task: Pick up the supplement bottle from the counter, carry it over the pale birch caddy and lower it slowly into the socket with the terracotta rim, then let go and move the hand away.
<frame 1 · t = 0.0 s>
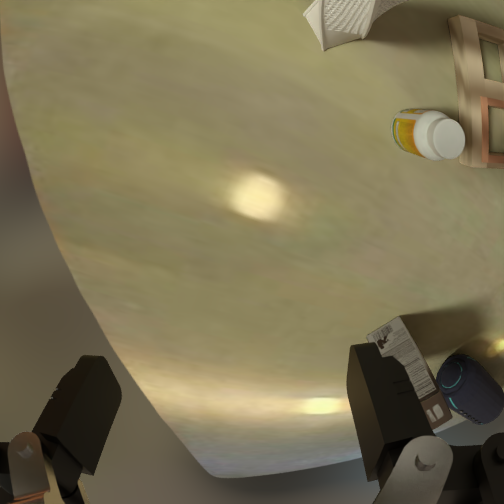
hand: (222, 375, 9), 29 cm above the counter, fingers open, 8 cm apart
skyscraper: (335, 25, 28), on the counter
portable speaker: (463, 376, 51), on the counter
supplement bottle: (408, 130, 33), on the counter
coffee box: (391, 341, 46), on the counter
cup caddy: (488, 94, 29), on the counter
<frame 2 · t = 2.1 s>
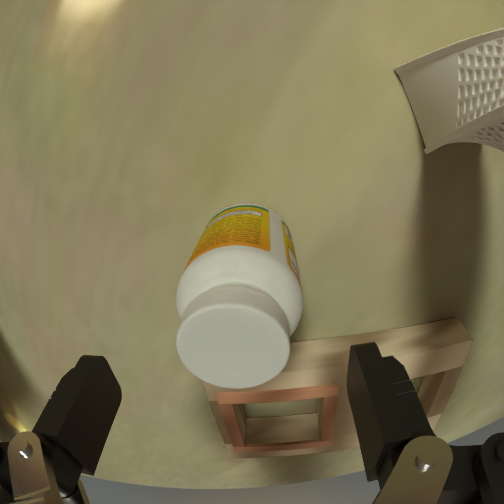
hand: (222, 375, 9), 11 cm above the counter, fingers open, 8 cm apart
skyscraper: (443, 104, 15), on the counter
supplement bottle: (246, 242, 19), on the counter
cup caddy: (337, 388, 24), on the counter
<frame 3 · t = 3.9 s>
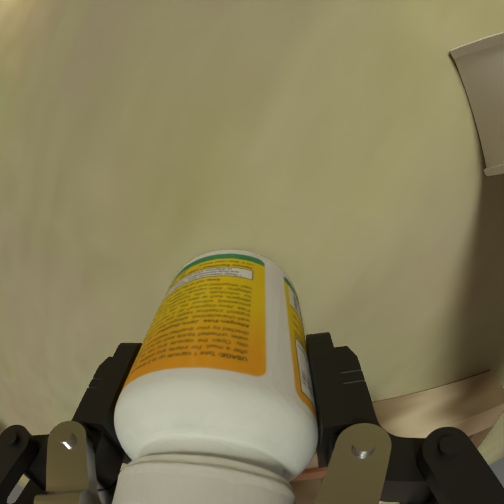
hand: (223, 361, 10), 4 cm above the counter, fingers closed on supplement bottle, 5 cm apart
supplement bottle: (232, 300, 13), on the counter, touching gripper
cup caddy: (346, 452, 18), on the counter
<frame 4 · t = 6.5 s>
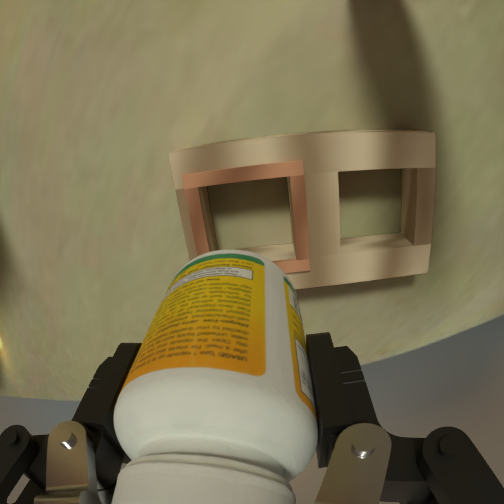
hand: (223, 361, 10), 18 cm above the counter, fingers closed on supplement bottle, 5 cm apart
supplement bottle: (232, 300, 13), point 14 cm above the counter, touching gripper
cup caddy: (310, 205, 26), on the counter
when the fingers open (5 cm above the counter, at t = 9.3 s): supplement bottle drops 1 cm, resting in cup caddy.
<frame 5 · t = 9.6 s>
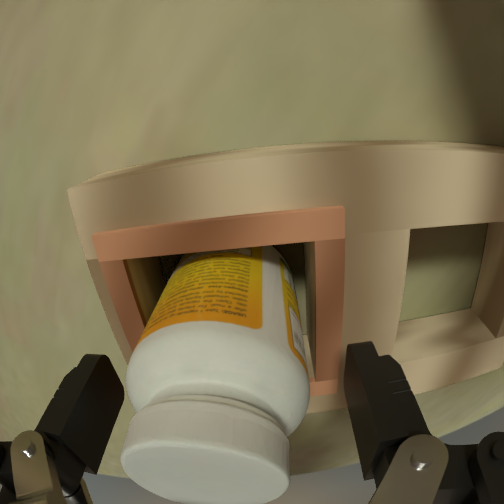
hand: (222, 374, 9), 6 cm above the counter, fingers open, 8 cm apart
supplement bottle: (233, 281, 15), resting in cup caddy
cup caddy: (342, 275, 14), on the counter
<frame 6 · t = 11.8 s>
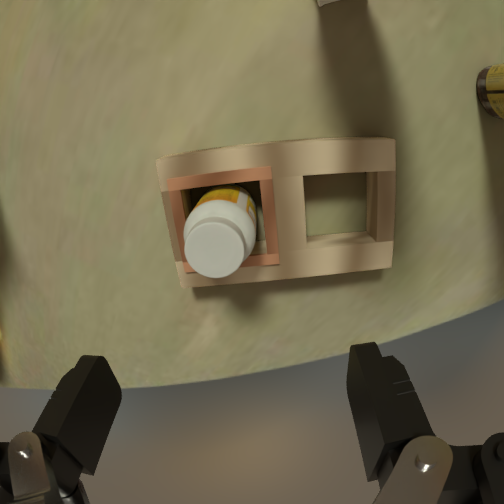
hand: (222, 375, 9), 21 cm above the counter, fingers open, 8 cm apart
supplement bottle: (227, 209, 30), resting in cup caddy
sauce bottle: (492, 90, 23), on the counter
cup caddy: (281, 205, 29), on the counter
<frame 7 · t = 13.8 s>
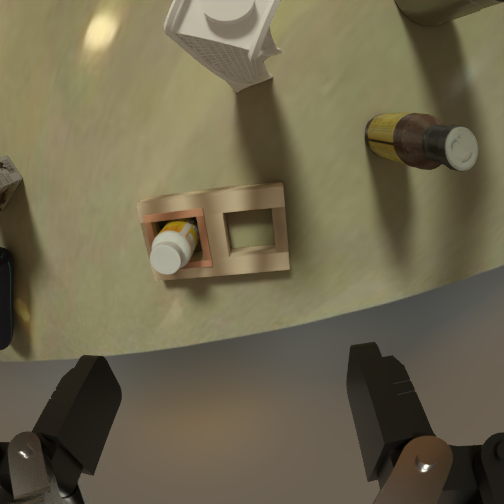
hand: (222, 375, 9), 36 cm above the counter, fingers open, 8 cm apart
skyscraper: (246, 69, 37), on the counter
portable speaker: (5, 288, 52), on the counter
supplement bottle: (182, 231, 46), resting in cup caddy
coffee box: (5, 182, 43), on the counter
sauce bottle: (382, 133, 40), on the counter
cup caddy: (215, 229, 46), on the counter
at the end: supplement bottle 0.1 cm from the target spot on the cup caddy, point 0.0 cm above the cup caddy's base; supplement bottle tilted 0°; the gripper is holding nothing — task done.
